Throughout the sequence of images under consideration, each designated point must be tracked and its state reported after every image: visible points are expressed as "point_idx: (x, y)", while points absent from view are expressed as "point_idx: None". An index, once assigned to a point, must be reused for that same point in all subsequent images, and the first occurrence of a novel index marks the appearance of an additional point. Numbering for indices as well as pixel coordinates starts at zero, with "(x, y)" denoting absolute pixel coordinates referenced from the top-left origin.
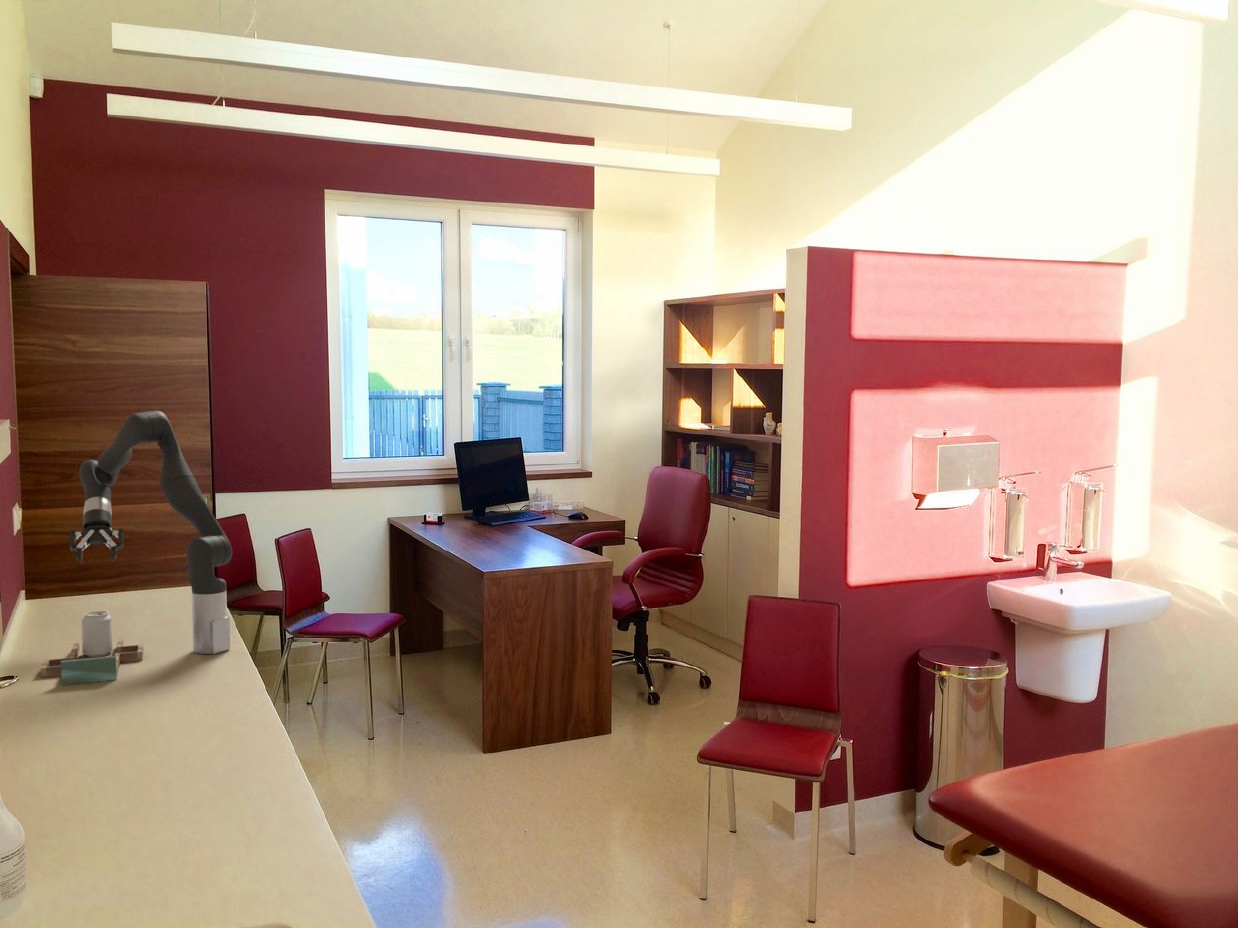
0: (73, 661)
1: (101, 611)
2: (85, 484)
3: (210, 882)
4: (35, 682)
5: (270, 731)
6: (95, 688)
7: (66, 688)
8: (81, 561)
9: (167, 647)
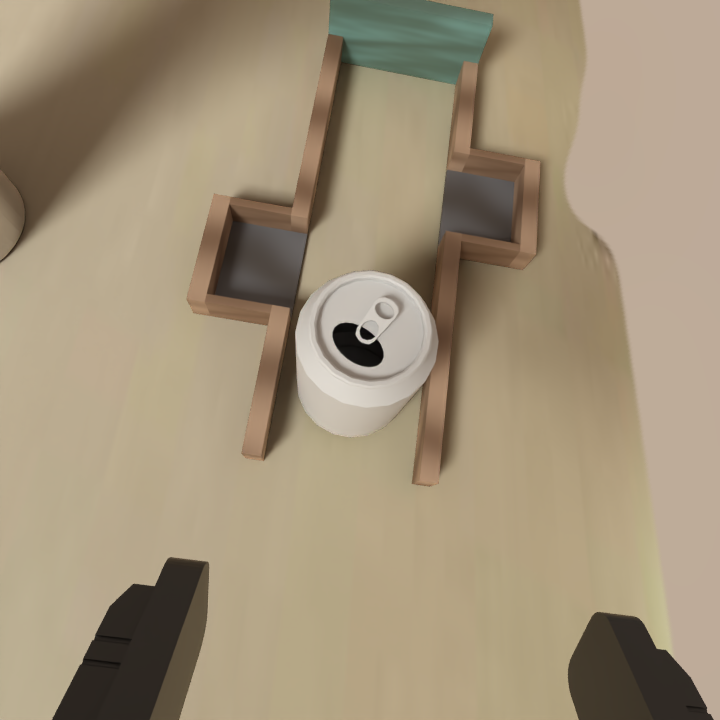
0: (457, 9)
1: (341, 370)
2: None
3: None
4: (538, 139)
5: None
6: None
7: None
8: (580, 643)
9: (87, 353)
